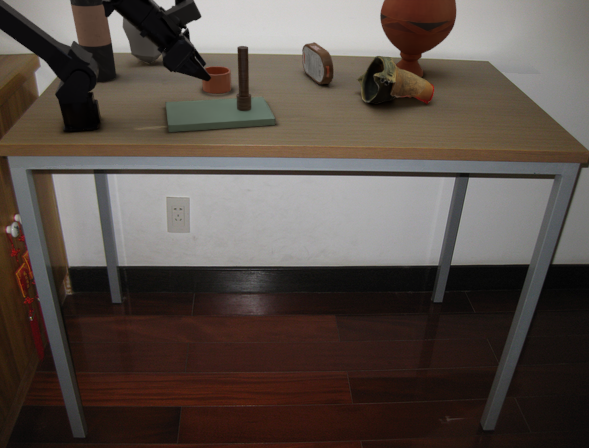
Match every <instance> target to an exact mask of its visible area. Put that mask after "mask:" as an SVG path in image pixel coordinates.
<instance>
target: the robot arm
mask: <svg viewBox="0 0 589 448" xmlns="http://www.w3.org/2000/svg"><path fill="white" fill-rule="evenodd" d="M102 4H103V6H104V11H105V17H107V18H108V19H109V18H110V16H112V14H113V12H114V11H115V12H116V13H118V14H119V15H120V16H121V17H122V19H123V18H125V19H126V20H127V21H128V22H129V23H130V24H131V25H133V26H134V27H135V28H136V29H137V30H138V31H139V34H140V35H141V36H142V37H143V38H144V37H146V38H147V39H149V40H150V41H151V42H152V43H153V44H154V45H155V46H157V50H158V51H159V52H160V53H162V54H161V58H162V66H163V67H164V68H165V69H166V70H168V71H169V72H170V73H172V72H173V73H178V74H182V75H185V76H189V77H192V78H195V79H198V80H201V81H202V80H204V81H209V80H210V79H211V76H210V75H209V74H208V72H207V71H206V70H205V68H206V66H207V62H206V60H205V59H204V58H203V56H202V55H201V53H200V52H199V51H198V49H197V48H196V47H195V45H194V44H193V42H192V41H191V36H190V29H189V27H188V26H187V25H188V24H190V23H192V22H194V21H195V22H196V21H198V20H200V19H201V18H202V14H201V12H200V10H199V8H198V5H197V4H196V2H195V0H174V5H171V7H170V8H168V9H165V8H164V7H163V6H160V5H159V6H160V7H159V6H158V7H157V6H156V5H155V4H154V3H153V2H152V1H151V0H102ZM0 31H2V32H3V33H5V35H7V36H9V37H10V38H12V39H13V40H15V41H16V42H17V43H19V44H20V45H22V46H23V47H25V48H26V49H27V50H29V51H30V52H31V53H33V54H34V55H35V56H37V57H39V58H40V59H41V60H43V61H44V63H46V65H47V66H48V67H49V68H50V69H51V71H52V72H53V74H54V75H55V76H56V77H57V78H58V79H59V83H58V85H57V88H56V91H55V93H54V96H55V98H56V99H57V101H58V105H59V109H60V113H61V118H62V121H63V128H62V130H63V132H65V133H67V132H68V133H69V132H82V131H97V130H99V126H100V124H101V122H102V116H101V114H102V113H101V110H100V105H99V101H98V99H95V95H94V92H93V90H94V89H95V87H96V86H97V83H98V82H97V79H98V74H99V68H98V64H97V62H96V61H95V60H94V59H93V58H92V56H93V54H92V53H89V52H87V51H85V50H84V49H83V48H82V47H81V46H80V45H79V43H78V41H76V40H72V42H71V44H70V45H68V44H65V43H63V42H60V41H58V40H57V39H56V38H54V37H53V36H51V35H50V34H49V33H48V32H46V31H45V30H43V29H42V28H41V27H39V26H38V25H37V24H35V23H34V22H33V21H31V20H30V19H29V18H27V17H26V16H25V15H24V14H22V13H20V11H18V10H16V9H15V8H14V7H13V6H11V5H10V4H8V3H7V2H6V1H5V0H0Z"/></svg>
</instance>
